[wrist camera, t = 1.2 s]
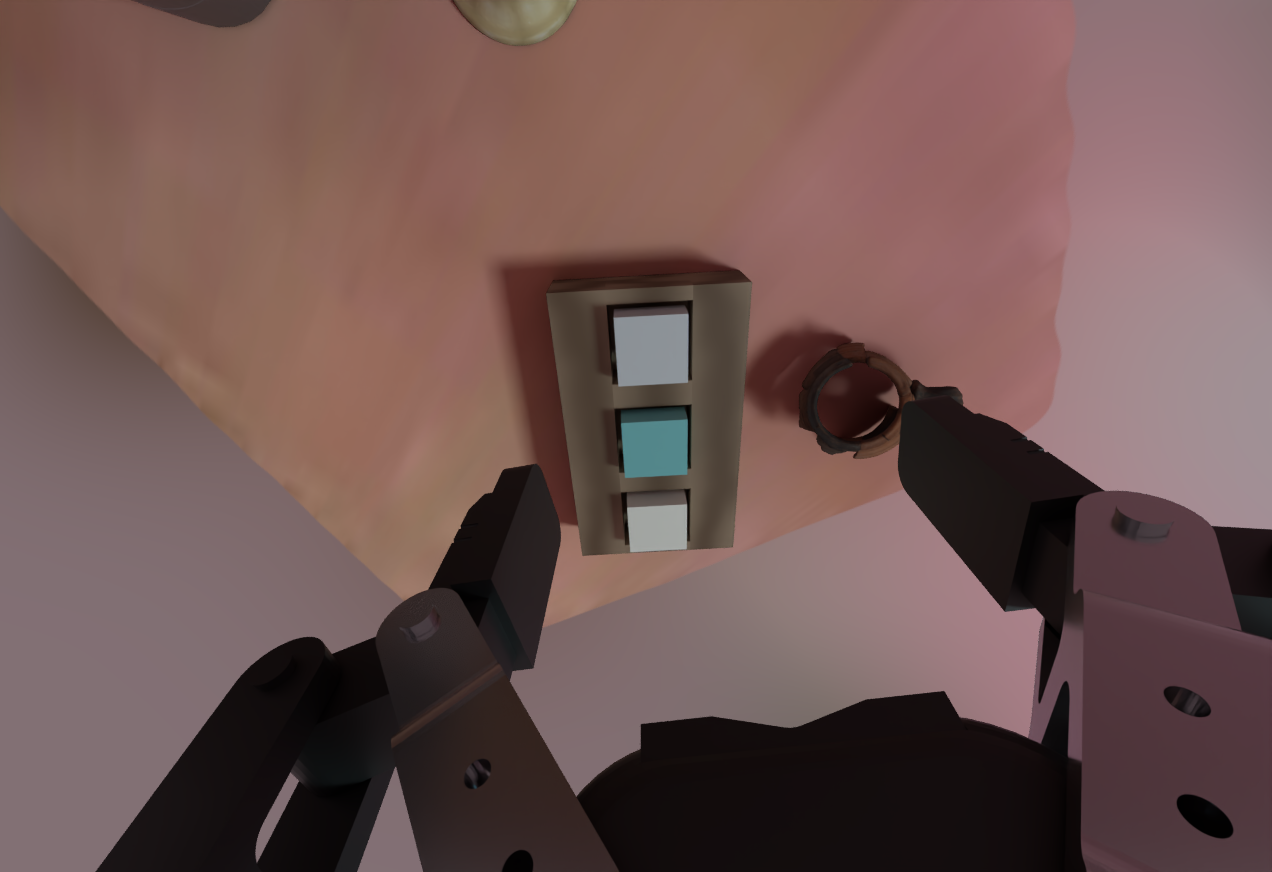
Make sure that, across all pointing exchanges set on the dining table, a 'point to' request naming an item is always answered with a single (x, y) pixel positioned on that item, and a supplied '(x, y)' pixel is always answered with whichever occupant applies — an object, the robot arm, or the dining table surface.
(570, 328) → the console
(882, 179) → the dining table surface
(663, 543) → the cream key
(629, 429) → the teal key
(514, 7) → the hand bell
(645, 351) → the grey key
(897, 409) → the pottery mug
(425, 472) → the dining table surface
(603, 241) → the dining table surface
